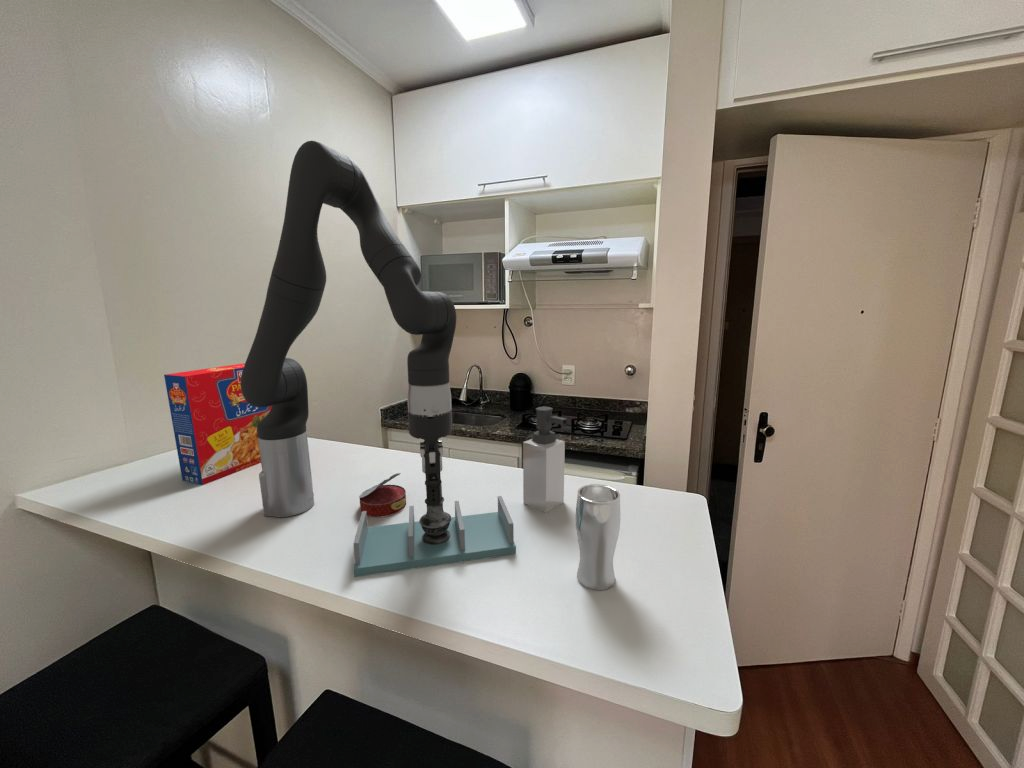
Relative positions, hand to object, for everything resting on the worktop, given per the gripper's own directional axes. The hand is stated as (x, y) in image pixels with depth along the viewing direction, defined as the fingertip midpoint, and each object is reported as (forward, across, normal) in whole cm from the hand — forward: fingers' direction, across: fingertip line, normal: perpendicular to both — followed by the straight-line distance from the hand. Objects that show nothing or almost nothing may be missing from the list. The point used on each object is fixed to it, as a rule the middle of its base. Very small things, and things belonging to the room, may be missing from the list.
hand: (432, 493), depth 75 cm
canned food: (+11, -18, -11) cm, 24 cm away
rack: (+10, 0, 0) cm, 10 cm away
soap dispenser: (+10, -10, +25) cm, 29 cm away
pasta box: (+11, -54, -52) cm, 76 cm away
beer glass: (+10, +16, +25) cm, 32 cm away
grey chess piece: (+9, 0, 0) cm, 9 cm away
